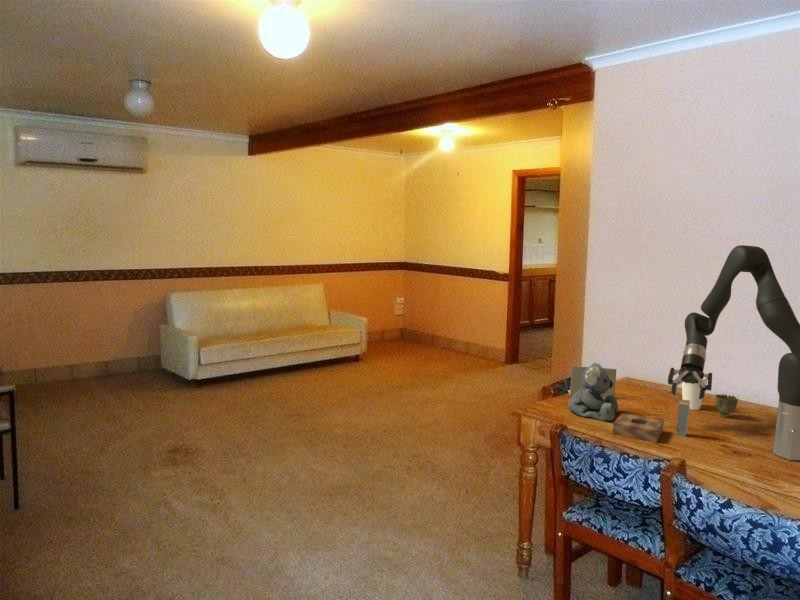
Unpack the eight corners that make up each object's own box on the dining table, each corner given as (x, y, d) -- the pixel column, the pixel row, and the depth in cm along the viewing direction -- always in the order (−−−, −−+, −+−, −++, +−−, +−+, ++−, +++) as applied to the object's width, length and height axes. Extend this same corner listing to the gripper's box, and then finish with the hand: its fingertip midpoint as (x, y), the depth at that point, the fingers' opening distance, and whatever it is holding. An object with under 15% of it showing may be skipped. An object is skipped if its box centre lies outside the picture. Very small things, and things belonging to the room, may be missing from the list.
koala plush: (613, 423, 223) (618, 371, 221) (563, 416, 231) (567, 364, 228) (618, 411, 239) (622, 362, 237) (571, 404, 246) (574, 356, 244)
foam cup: (689, 411, 242) (692, 379, 241) (673, 404, 251) (676, 373, 250) (709, 410, 245) (712, 378, 243) (692, 403, 254) (695, 372, 252)
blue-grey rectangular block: (686, 434, 214) (689, 400, 213) (685, 436, 212) (688, 402, 210) (677, 432, 216) (680, 399, 214) (676, 434, 213) (679, 401, 212)
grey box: (609, 392, 269) (611, 362, 268) (614, 399, 257) (616, 369, 255) (567, 388, 272) (569, 360, 271) (569, 396, 260) (571, 366, 258)
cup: (738, 420, 233) (740, 399, 232) (717, 418, 234) (719, 398, 233) (732, 414, 240) (734, 394, 239) (711, 412, 241) (713, 392, 240)
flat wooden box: (662, 431, 216) (663, 420, 216) (656, 442, 204) (657, 430, 204) (621, 423, 223) (622, 413, 223) (612, 434, 211) (613, 422, 211)
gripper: (672, 350, 227) (664, 387, 219) (715, 355, 220) (709, 393, 212) (673, 362, 233) (665, 398, 224) (715, 367, 225) (709, 405, 217)
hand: (687, 396), depth 218 cm, fingers open, 8 cm apart
